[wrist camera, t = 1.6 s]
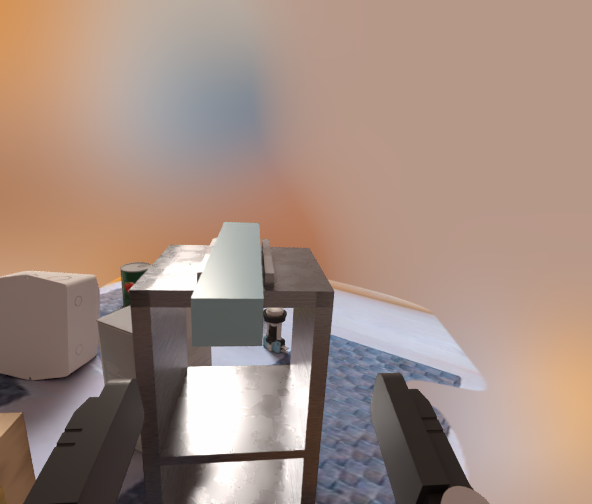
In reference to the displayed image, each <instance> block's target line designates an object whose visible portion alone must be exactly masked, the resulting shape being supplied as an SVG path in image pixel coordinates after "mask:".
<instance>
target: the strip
mask: <svg viewBox="0 0 592 504" xmlns="http://www.w3.org/2000/svg"><path fill="white" fill-rule="evenodd" d="M263 303H264V296H263V280H262V264H261V247H260V231H259V223H235V222H234V223H233V222H224V224H223V227H222V229H221V231H220V233H219V236H218V238H217V240H216V242H215V245H214V247H213V249H212V251H211V254H210V256H209V258H208V260H207V263H206V265H205V267H204V269H203V272H202V274H201V276H200V278H199V281H198V283H197V285H196V287H195V290H194V292H193V294H192V297H191V325H192V347H208V346H262V334H263Z"/></svg>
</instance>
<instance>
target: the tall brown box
mask: <svg viewBox="0 0 592 504" xmlns="http://www.w3.org/2000/svg"><path fill="white" fill-rule="evenodd" d="M35 481H36V480H35V475H34V469H33V464H32V459H31V453H30V448H29V443H28V438H27V432H26V427H25V422H24V416H23V412H19V413H0V504H23V503H24V501H25V499H26V497H27V496H28V494H29V492H30V490H31V488H32V487H33V485H34V483H35Z"/></svg>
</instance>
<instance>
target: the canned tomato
mask: <svg viewBox="0 0 592 504" xmlns="http://www.w3.org/2000/svg"><path fill="white" fill-rule="evenodd" d="M150 267H151V264H149V263H143V262H135V263H129V264H125V265H123V266H121V268H120V269H121V281H122V292H123V306H124V307H127V306H130V296H129V289H130V288H131V287H132V286H133V285H134V284H135V283H136V282H137V281H138V280H139V279H140V277H141V276H142V275H143V274H144V273H145V272H146V271H147V270H148V269H149V268H150Z"/></svg>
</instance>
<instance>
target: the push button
mask: <svg viewBox="0 0 592 504" xmlns="http://www.w3.org/2000/svg"><path fill="white" fill-rule="evenodd" d="M286 315H287V312H286V311H285V310H283V308H267V309H265V310H264V311H263V316H264V320H265V321H266V322H267V333H266V336H264V338H263V346H264V347H266V348H267V349H268V350H269V351H271V350H272V351H274V352H276V353H280V352H284V353H288V351H286V350H287V349H288V348H287V347H285V346H284V345H285V340H284V339H282V337H281V327H282V322H284V321H285V317H286ZM285 349H286V350H285ZM285 351H286V352H285Z"/></svg>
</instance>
